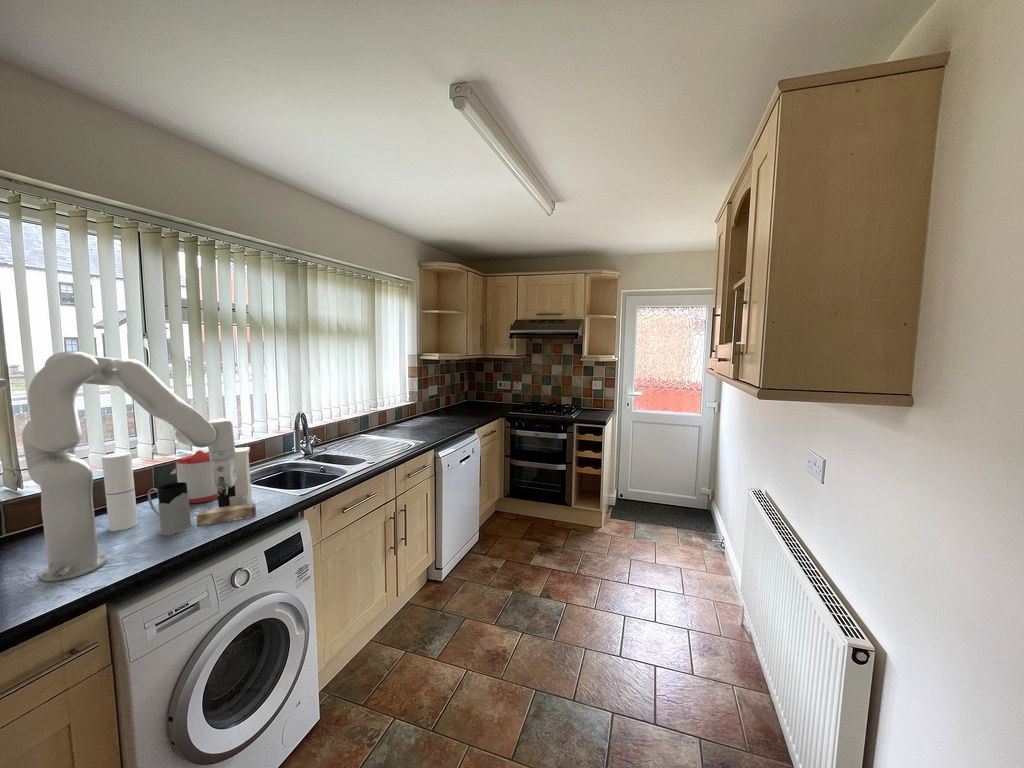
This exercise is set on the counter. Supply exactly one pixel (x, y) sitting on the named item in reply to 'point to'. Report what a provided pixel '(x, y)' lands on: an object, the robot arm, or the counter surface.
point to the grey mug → (172, 508)
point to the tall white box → (241, 478)
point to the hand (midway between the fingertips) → (227, 501)
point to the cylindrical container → (119, 491)
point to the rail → (225, 514)
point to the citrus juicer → (197, 477)
